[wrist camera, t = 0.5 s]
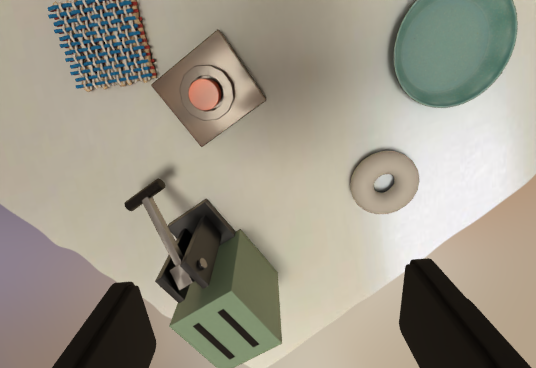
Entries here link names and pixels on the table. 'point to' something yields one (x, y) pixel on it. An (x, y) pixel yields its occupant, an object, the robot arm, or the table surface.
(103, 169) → the table surface
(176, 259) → the lever
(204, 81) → the button
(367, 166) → the donut
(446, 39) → the saucer
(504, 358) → the robot arm
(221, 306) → the toaster
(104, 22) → the woven mat
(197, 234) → the bracket
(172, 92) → the control block
